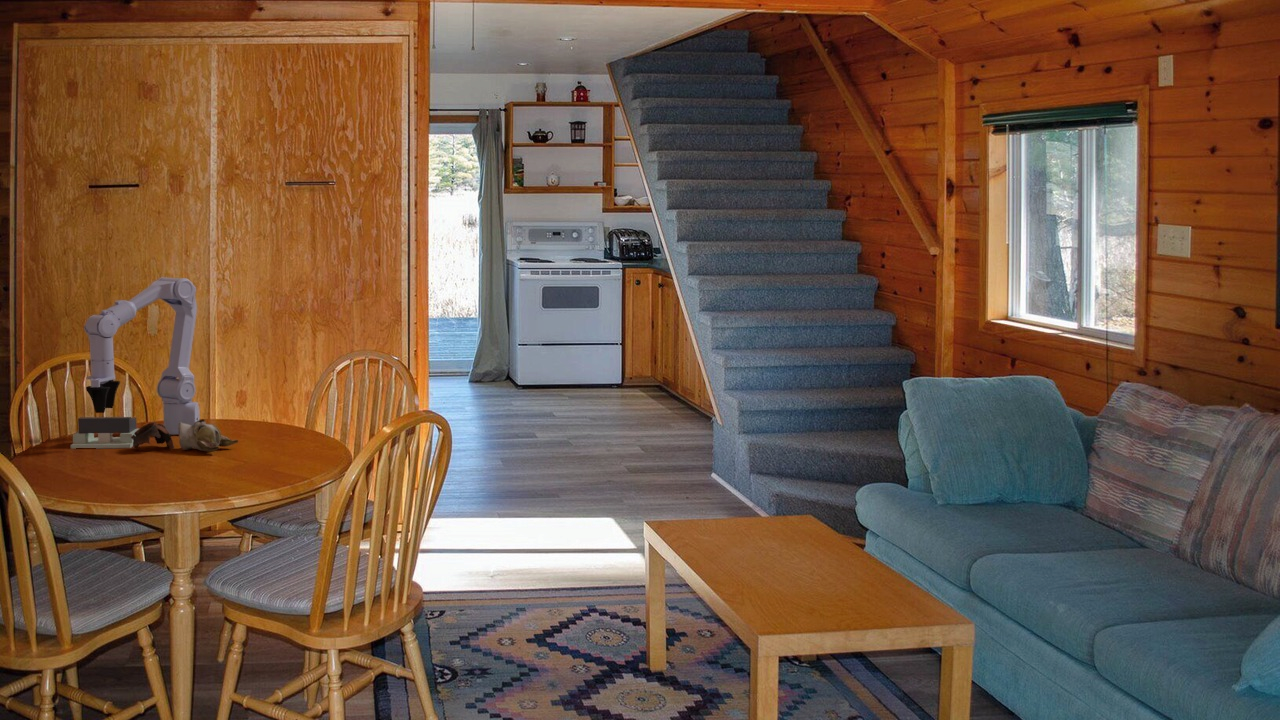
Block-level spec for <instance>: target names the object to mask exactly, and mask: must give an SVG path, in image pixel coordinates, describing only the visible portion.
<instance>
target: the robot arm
mask: <svg viewBox="0 0 1280 720" xmlns="http://www.w3.org/2000/svg"><path fill="white" fill-rule="evenodd" d="M196 292H197V287H196V286H195V285H194V284H193V282H192V281H191V280H190V279H188V278H186V277H185V278H184V277H182V278H180V277H179V278H177V277H166V276H162V277H160V278H158V279H157V280H154V281H152V283H151V285H149V286H147V287H146V288H145V289H143V290H142V291H141V292H139V293H138V294H136V295H135V296H133V297H132V298H130V299H129V300H126V299H121V300H120V299H117V300H115V301H114V304H113V305H111V306H110V307H108V308H107V309H102V310H101V311H100V313H99V314H93V315H91V316H89V317H88V318H87V320H86V321H85V325H83V329H84V332H85V333H86V334H87V336H88V337H87V338H88V341H89V356H90V375H88V376H86V380H90V385H87V386H86V387H85V389H86V392H87V393H88V395H89V397H90V398H91V403H92V405H93V409H94V412H95V413H96V414H104V413H105V412H106V409H113V408H114V404H115V399H116V393H117V390H118V388H119V386H120V384H121V381H120V380H116V373H115V357H114V356H115V354H114V336H115V335H116V334H117V331H118V329H119V328H121V327H122V326H124V325H125V324H127V323H129V322H130V321H131V320H133V319H135V318H136V315H137V312H138V311H140V310H141V309H143V308H145V307H147V306H148V305H150V304H152V303H154V302H155V301H158V300H161V301H164V302H165V303H166V304H168V305H169V306H170V307H171V308H172V309H173V310H174V312H175V316H174V323H173V331H172V338H171V346H170V350H169V351H170V353H169V361H168V366H167V367H166V368H165V369H164V370H163V371H162V372H161V377H160V379H159V381H158V383H157V384H156V392H157V394H158V396H159V397H160V398H161V402H162V404H163V405H162V407H163V409H162V411H163V425H164V426H165V428H166V430H167V431H168V432H169V434H170V436H172V435H174V436H175V435H176V436H177V435H178V436H179V430H178V428H179V422H182V423H185V424H189V425H191V426H193V425H194V423H195V422H197V421H199V420H201V419H200V418H201V417H200V406H199V402H197V401H192V400H193V398H194V397H195V394H196V385H195V375H194V374H193V372H192V371H191V370H190V365H191V364H190V363H191V355H192V348H193V342H194V335H195V326H196V320H197V314H198V304H197V300H196Z"/></svg>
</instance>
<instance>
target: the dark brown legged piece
mask: <svg viewBox="0 0 1280 720" xmlns="http://www.w3.org/2000/svg"><path fill="white" fill-rule="evenodd" d="M137 429H138V430H137V431H136V432H135V433H134V434H135V435H136V436H135V435H133V436H132V437H131V438H132V439H133V440H134V441H133V446H132V447H133V448H134V450H136V451H138V449H139V446H140V445H141V446H142V445H144V444H148V445H149V444H151V442H150V438H151V437H152V438H154V440H155V441H156V444H161V445H163V444H165V443H166V447H167V448H168V449H169V451H172V450H174V448H175V445H174V442H173V438H172V437H171V436H172V435H170V434H169V432H168V431H167V430H166V428H165V426H164V424H162V423H157V422H156V421H155V422H153V421H151V422H148V423H147V424H144V425H143V426H142V427H140V428H137Z"/></svg>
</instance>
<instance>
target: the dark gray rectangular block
mask: <svg viewBox="0 0 1280 720" xmlns="http://www.w3.org/2000/svg"><path fill="white" fill-rule="evenodd" d="M77 425H78V429H77V430H78V431H79V433H94V434H98V433H112V434H121V433H130V432H132V431H133V430H135V429H138V426H137V417H132V416H98V417H97V416H95V417H94V416H93V417H92V416H90V417H88V416H87V417H85V416H84V417H83V416H82V417H80V416H79V418H77Z"/></svg>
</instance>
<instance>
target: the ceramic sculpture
mask: <svg viewBox="0 0 1280 720" xmlns="http://www.w3.org/2000/svg"><path fill="white" fill-rule="evenodd" d="M178 430H179V435H178V439H179V441H178V444H179V446H180V448H181V449H182V450H185V451H188V450H191V449H196V450H198V451H201V452H206V453H211V452H214V451H217V450H219V448H220V447H222V448H224V447H229V446H232V445H235V444H238V443H239V441H240V440H238V439H235V440H232V439H230V438H229V437H228V436H224V435H222V432H221V430H220V428H219V427H218V426H216V425H215V424H212V423H206V421H205V419H203V418H202V419H200V420H199V421H197V422H195V423H194V425H193V426H191V425H189V424H185V423H182V422H179V428H178Z"/></svg>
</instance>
